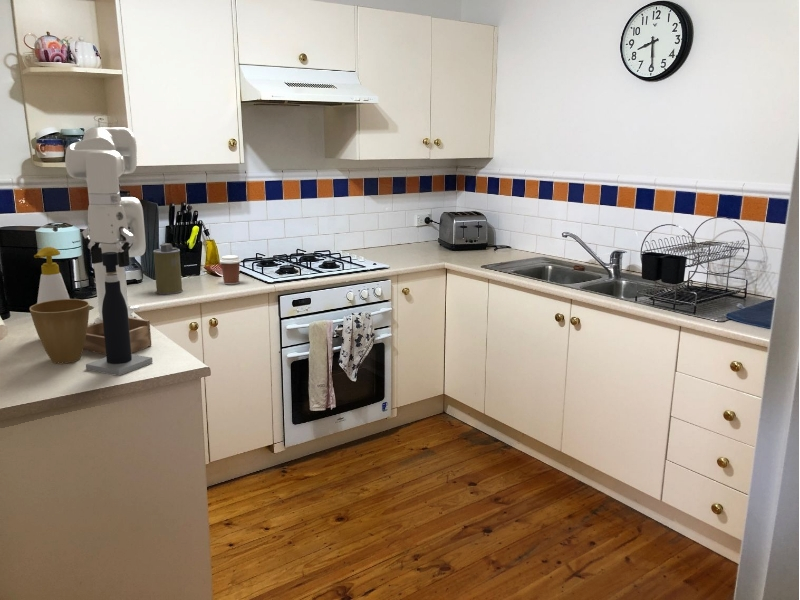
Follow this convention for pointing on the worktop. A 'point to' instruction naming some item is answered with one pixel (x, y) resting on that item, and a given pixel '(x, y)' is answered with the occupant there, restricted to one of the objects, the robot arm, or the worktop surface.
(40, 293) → the soap bottle
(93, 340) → the wooden box
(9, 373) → the worktop surface
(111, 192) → the robot arm
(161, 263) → the canister
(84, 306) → the plant pot
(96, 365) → the tile
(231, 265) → the coffee cup
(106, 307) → the black water bottle
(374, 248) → the worktop surface
